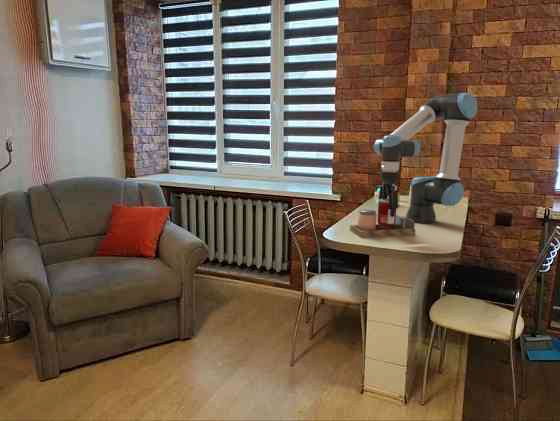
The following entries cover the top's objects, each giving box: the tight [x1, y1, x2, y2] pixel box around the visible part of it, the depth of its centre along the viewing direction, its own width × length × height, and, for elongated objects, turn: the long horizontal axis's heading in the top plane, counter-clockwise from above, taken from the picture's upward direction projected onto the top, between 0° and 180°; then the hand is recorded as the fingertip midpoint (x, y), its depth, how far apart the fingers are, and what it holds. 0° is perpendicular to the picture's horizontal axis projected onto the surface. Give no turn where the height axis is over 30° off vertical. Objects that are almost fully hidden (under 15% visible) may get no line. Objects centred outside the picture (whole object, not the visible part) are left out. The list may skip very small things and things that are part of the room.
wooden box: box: [349, 216, 416, 238], centre depth 196 cm, size 26×12×7 cm, turn 102°
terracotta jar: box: [357, 208, 378, 231], centre depth 194 cm, size 8×8×10 cm
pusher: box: [392, 214, 407, 230], centre depth 198 cm, size 4×10×7 cm, turn 12°
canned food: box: [376, 198, 397, 226], centre depth 195 cm, size 8×8×11 cm
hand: (386, 221), depth 196 cm, fingers closed on canned food, 8 cm apart
